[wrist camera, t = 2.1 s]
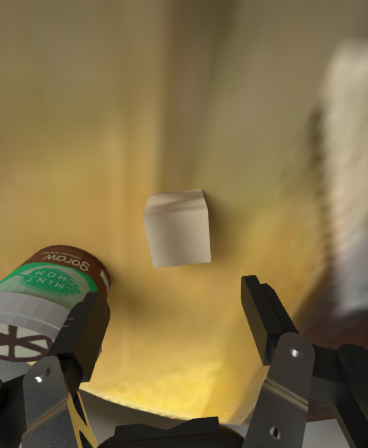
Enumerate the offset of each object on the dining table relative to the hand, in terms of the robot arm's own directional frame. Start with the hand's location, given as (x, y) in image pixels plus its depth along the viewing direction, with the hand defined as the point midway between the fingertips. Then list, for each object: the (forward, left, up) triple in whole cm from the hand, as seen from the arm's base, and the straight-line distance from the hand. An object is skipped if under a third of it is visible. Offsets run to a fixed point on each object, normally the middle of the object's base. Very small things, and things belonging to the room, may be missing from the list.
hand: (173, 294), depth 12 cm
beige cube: (0, 0, -11) cm, 11 cm away
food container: (+13, +4, -11) cm, 17 cm away
